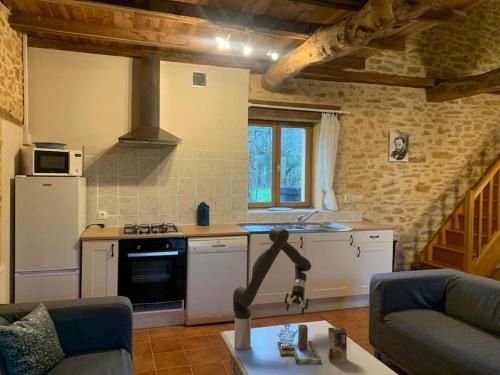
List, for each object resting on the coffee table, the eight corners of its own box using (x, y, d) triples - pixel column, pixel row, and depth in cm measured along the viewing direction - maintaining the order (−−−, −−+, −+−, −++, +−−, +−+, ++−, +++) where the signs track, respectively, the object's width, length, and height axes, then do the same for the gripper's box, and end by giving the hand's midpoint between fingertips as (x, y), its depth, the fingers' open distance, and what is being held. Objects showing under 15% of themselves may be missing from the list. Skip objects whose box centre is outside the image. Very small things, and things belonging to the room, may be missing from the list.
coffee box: (344, 357, 198) (345, 327, 198) (346, 363, 192) (347, 332, 192) (327, 356, 199) (328, 327, 199) (329, 362, 193) (329, 331, 193)
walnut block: (299, 350, 205) (299, 327, 205) (298, 347, 210) (298, 324, 210) (307, 350, 206) (307, 327, 205) (305, 347, 210) (306, 324, 210)
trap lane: (282, 364, 190) (283, 360, 190) (277, 343, 214) (277, 340, 214) (321, 363, 191) (321, 359, 191) (311, 343, 215) (311, 340, 215)
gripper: (288, 282, 227) (283, 306, 216) (311, 288, 226) (307, 312, 215) (286, 288, 233) (282, 311, 222) (309, 294, 231) (305, 318, 220)
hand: (294, 312), depth 218 cm, fingers open, 8 cm apart
